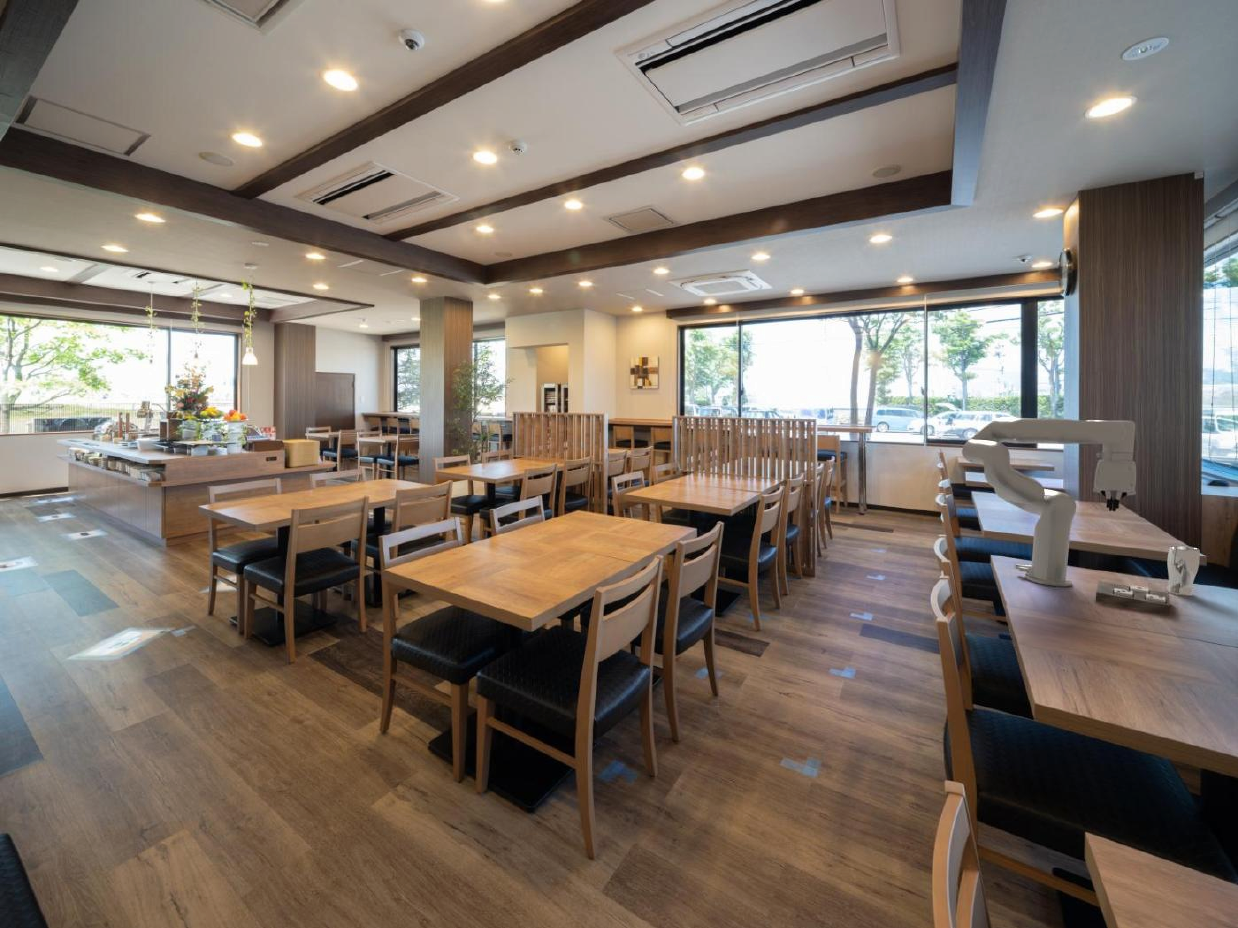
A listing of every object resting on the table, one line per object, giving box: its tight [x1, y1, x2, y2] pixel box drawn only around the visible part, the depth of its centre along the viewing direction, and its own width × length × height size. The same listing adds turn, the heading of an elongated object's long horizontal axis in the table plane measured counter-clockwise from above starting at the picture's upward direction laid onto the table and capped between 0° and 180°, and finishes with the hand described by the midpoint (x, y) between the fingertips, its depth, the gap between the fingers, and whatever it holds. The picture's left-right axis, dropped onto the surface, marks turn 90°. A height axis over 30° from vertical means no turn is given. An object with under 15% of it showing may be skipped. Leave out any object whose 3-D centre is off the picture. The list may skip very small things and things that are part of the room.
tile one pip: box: [1130, 585, 1149, 594], centre depth 165 cm, size 4×4×3 cm
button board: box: [1095, 581, 1171, 616], centre depth 163 cm, size 16×14×3 cm
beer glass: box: [1165, 544, 1201, 597], centre depth 169 cm, size 7×7×15 cm
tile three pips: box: [1114, 588, 1133, 597], centre depth 162 cm, size 4×4×3 cm
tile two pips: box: [1146, 594, 1166, 603], centre depth 157 cm, size 4×4×3 cm
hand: (1112, 510), depth 179 cm, fingers closed
